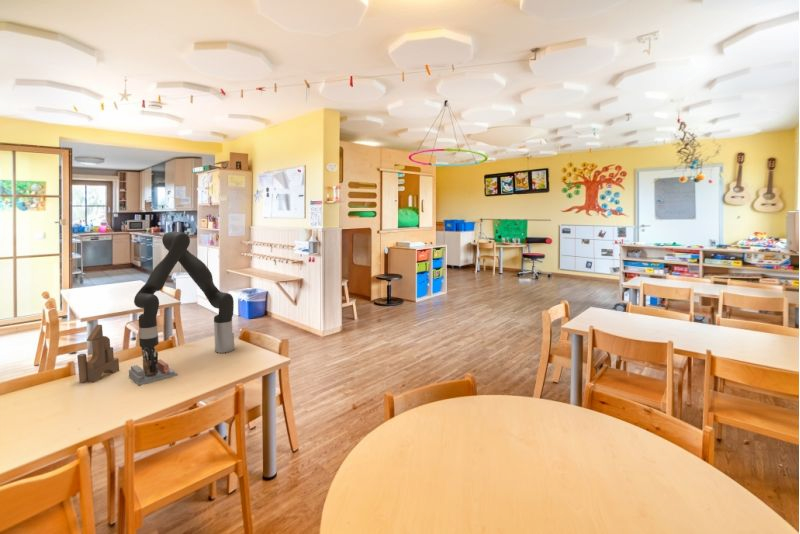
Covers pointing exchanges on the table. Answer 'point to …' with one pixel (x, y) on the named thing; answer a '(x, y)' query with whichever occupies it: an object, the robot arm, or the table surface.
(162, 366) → the bar
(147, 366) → the walnut block
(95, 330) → the wooden toy
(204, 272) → the robot arm
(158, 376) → the vise base
